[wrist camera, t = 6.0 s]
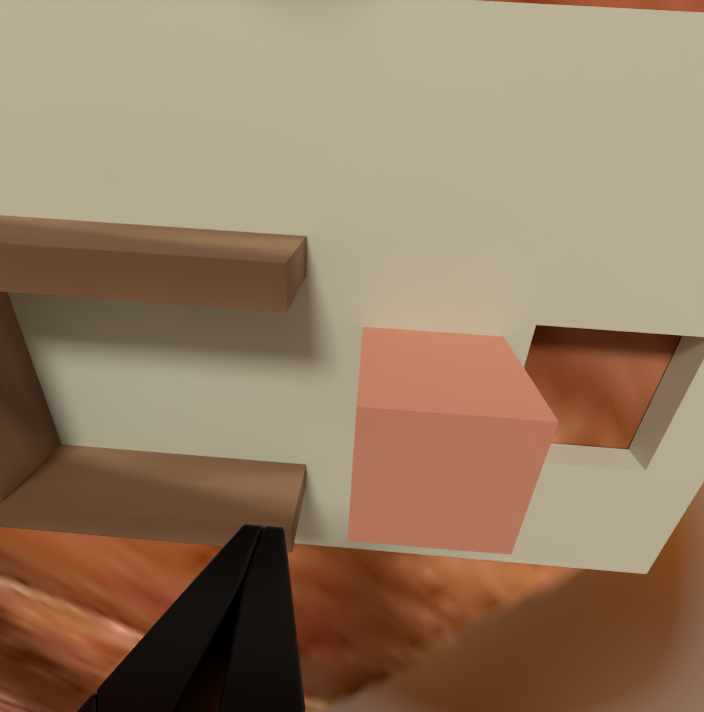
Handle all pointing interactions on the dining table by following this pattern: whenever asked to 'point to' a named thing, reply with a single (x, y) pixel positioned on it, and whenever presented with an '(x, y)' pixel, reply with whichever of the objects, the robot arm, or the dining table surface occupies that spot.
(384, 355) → the block
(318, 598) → the dining table surface
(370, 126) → the board
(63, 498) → the cubby
